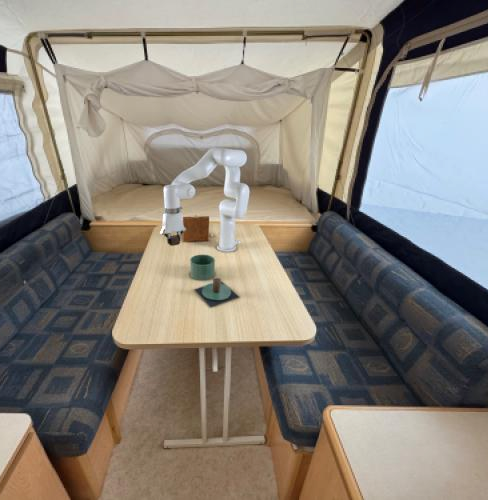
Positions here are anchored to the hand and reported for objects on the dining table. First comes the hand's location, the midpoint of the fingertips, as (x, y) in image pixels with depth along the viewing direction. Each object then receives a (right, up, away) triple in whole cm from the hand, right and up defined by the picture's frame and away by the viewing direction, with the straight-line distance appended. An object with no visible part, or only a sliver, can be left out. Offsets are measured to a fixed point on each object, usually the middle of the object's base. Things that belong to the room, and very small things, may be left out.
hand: (174, 243), depth 140 cm
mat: (+22, -24, -16) cm, 36 cm away
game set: (+9, +5, +47) cm, 48 cm away
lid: (+22, -23, -16) cm, 36 cm away
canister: (+15, -16, +1) cm, 22 cm away
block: (0, 0, 0) cm, 0 cm away
